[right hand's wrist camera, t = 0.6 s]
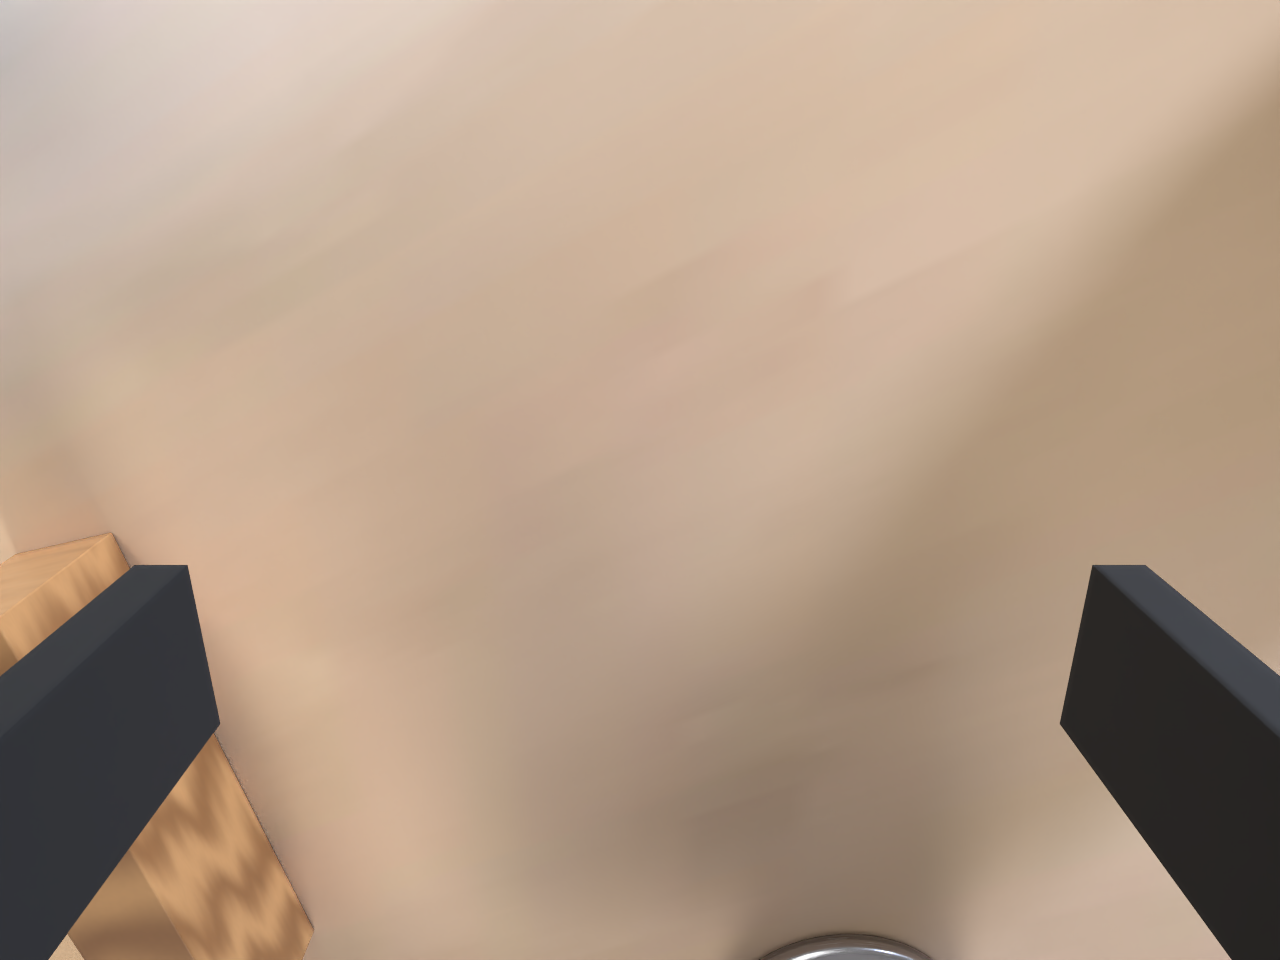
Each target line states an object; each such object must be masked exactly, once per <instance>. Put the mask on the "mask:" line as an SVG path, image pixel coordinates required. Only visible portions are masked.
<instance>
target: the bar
mask: <svg viewBox="0 0 1280 960" xmlns="http://www.w3.org/2000/svg"><path fill="white" fill-rule="evenodd" d="M129 569H130V568H129V566H128V564H127V562H126V560H125V558H124V556H123V554H122V552H121V550H120V548H119V546H118V544H117V542H116V540H115V538H114V536H113V534H112V533H107V534H103V535H98V536H94V537H89V538H85V539H81V540H76V541H72V542H67V543H63V544H59V545H54V546H50V547H46V548H41V549H37V550H32V551H28V552H24V553H19V554H16V555H14V556H13V557H11V558H10V559H8V560H7V561H5V562H4V563H2V564H1V565H0V676H1V675H2V674H4V673H5V672H6V671H7V670H8V669H10V668H11V667H12V666H13V665H14V664H16V663H17V662H18V661H19V660H20V659H22V658H23V657H24V656H25V655H27V654H28V653H29V652H30V651H31V650H33V649H34V648H35V647H36V646H37V645H39V644H40V643H41V642H42V641H43V640H45V639H46V638H47V637H48V636H49V635H51V634H52V633H53V632H54V631H56V630H57V629H58V628H59V627H60V626H62V625H63V624H64V623H65V622H66V621H68V620H69V619H70V618H71V617H72V616H74V615H75V614H76V613H77V612H79V611H80V610H81V609H82V608H83V607H85V606H86V605H87V604H88V603H89V602H91V601H92V600H93V599H94V598H95V597H97V596H98V595H99V594H100V593H102V592H103V591H104V590H105V589H106V588H108V587H109V586H110V585H111V584H112V583H114V582H115V581H116V580H117V579H118V578H120V577H121V576H122V575H123V574H125V573H126V572H127V571H128V570H129ZM313 932H314V929H313V927H312V925H311V923H310V921H309V920H308V918H307V916H306V914H305V912H304V910H303V908H302V906H301V904H300V902H299V900H298V898H297V896H296V894H295V892H294V890H293V888H292V886H291V884H290V882H289V880H288V878H287V876H286V874H285V872H284V870H283V868H282V866H281V865H280V863H279V861H278V859H277V857H276V855H275V853H274V851H273V849H272V847H271V845H270V843H269V841H268V839H267V837H266V835H265V833H264V831H263V829H262V827H261V825H260V823H259V821H258V819H257V817H256V815H255V813H254V811H253V809H252V808H251V806H250V804H249V802H248V800H247V798H246V796H245V794H244V792H243V790H242V788H241V786H240V784H239V782H238V780H237V778H236V776H235V774H234V772H233V770H232V768H231V766H230V764H229V762H228V760H227V758H226V756H225V754H224V752H223V751H222V749H221V747H220V745H219V743H218V741H217V739H216V737H215V735H214V733H213V734H212V736H211V737H210V738H209V740H208V741H207V743H206V744H205V745H204V747H203V748H202V749H201V751H200V752H199V753H198V755H197V756H196V758H195V759H194V760H193V762H192V763H191V764H190V766H189V767H188V769H187V770H186V771H185V773H184V774H183V775H182V777H181V778H180V780H179V781H178V782H177V784H176V785H175V786H174V788H173V789H172V791H171V792H170V793H169V795H168V796H167V797H166V799H165V800H164V802H163V803H162V804H161V806H160V807H159V808H158V810H157V811H156V813H155V814H154V815H153V817H152V818H151V819H150V821H149V822H148V823H147V825H146V826H145V828H144V829H143V830H142V832H141V833H140V834H139V836H138V837H137V839H136V840H135V841H134V843H133V844H132V845H131V847H130V848H129V850H128V851H127V852H126V854H125V855H124V856H123V858H122V859H121V861H120V862H119V863H118V865H117V866H116V867H115V869H114V870H113V872H112V873H111V874H110V876H109V877H108V878H107V880H106V881H105V883H104V884H103V885H102V887H101V888H100V889H99V891H98V892H97V893H96V895H95V896H94V898H93V899H92V900H91V902H90V903H89V904H88V906H87V907H86V909H85V910H84V911H83V913H82V914H81V915H80V917H79V918H78V920H77V921H76V922H75V924H74V925H73V926H72V928H71V929H70V931H69V932H68V933H67V934H68V935H69V937H70V938H71V940H72V941H73V943H74V944H75V946H76V947H77V949H78V951H79V952H80V954H81V955H82V957H83V958H84V960H302V959H303V956H304V954H305V951H306V949H307V946H308V944H309V942H310V939H311V937H312V934H313Z"/></svg>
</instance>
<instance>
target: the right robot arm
mask: <svg viewBox="0 0 1280 960" xmlns="http://www.w3.org/2000/svg"><path fill="white" fill-rule="evenodd" d="M219 725H220V721H219V716H218V711H217V706H216V701H215V696H214V691H213V687H212V682H211V677H210V672H209V667H208V662H207V658H206V653H205V648H204V643H203V638H202V633H201V628H200V624H199V619H198V614H197V609H196V604H195V599H194V594H193V590H192V585H191V580H190V575H189V570H188V565H134V566H133V567H132V568H131V569H129V570H128V571H127V572H126V573H125V574H123V575H122V576H121V577H120V578H118V579H117V580H116V581H115V582H114V583H112V584H111V585H110V586H109V587H108V588H106V589H105V590H104V591H103V592H102V593H100V594H99V595H98V596H97V597H95V598H94V599H93V600H92V601H91V602H89V603H88V604H87V605H86V606H85V607H83V608H82V609H81V610H80V611H79V612H77V613H76V614H75V615H74V616H72V617H71V618H70V619H69V620H68V621H66V622H65V623H64V624H63V625H62V626H60V627H59V628H58V629H57V630H56V631H54V632H53V633H52V634H51V635H49V636H48V637H47V638H46V639H45V640H43V641H42V642H41V643H40V644H39V645H37V646H36V647H35V648H34V649H33V650H31V651H30V652H29V653H28V654H27V655H25V656H24V657H23V658H22V659H20V660H19V661H18V662H17V663H16V664H14V665H13V666H12V667H11V668H10V669H8V670H7V671H6V672H5V673H4V674H2V675H1V676H0V960H48V959H49V958H50V957H51V955H52V954H53V953H54V951H55V950H56V948H57V947H58V946H59V944H60V943H61V942H62V940H63V939H64V937H65V936H66V935H67V933H68V932H69V931H70V929H71V928H72V926H73V925H74V924H75V922H76V921H77V920H78V918H79V917H80V915H81V914H82V913H83V911H84V910H85V909H86V907H87V906H88V904H89V903H90V902H91V900H92V899H93V898H94V896H95V895H96V893H97V892H98V891H99V889H100V888H101V887H102V885H103V884H104V883H105V881H106V880H107V878H108V877H109V876H110V874H111V873H112V872H113V870H114V869H115V867H116V866H117V865H118V863H119V862H120V861H121V859H122V858H123V856H124V855H125V854H126V852H127V851H128V850H129V848H130V847H131V845H132V844H133V843H134V841H135V840H136V839H137V837H138V836H139V834H140V833H141V832H142V830H143V829H144V828H145V826H146V825H147V823H148V822H149V821H150V819H151V818H152V817H153V815H154V814H155V813H156V811H157V810H158V808H159V807H160V806H161V804H162V803H163V802H164V800H165V799H166V797H167V796H168V795H169V793H170V792H171V791H172V789H173V788H174V786H175V785H176V784H177V782H178V781H179V780H180V778H181V777H182V775H183V774H184V773H185V771H186V770H187V769H188V767H189V766H190V764H191V763H192V762H193V760H194V759H195V758H196V756H197V755H198V753H199V752H200V751H201V749H202V748H203V747H204V745H205V744H206V743H207V741H208V740H209V738H210V737H211V736H212V734H213V733H214V732H215V730H216V729H217V727H218V726H219ZM1060 725H1061V726H1062V727H1063V729H1064V730H1065V732H1066V733H1067V734H1068V736H1069V737H1070V738H1071V740H1072V741H1073V743H1074V744H1075V745H1076V747H1077V748H1078V749H1079V751H1080V752H1081V754H1082V755H1083V756H1084V758H1085V759H1086V760H1087V762H1088V763H1089V764H1090V766H1091V767H1092V769H1093V770H1094V771H1095V773H1096V774H1097V775H1098V777H1099V778H1100V780H1101V781H1102V782H1103V784H1104V785H1105V786H1106V788H1107V789H1108V791H1109V792H1110V793H1111V795H1112V796H1113V797H1114V799H1115V800H1116V802H1117V803H1118V804H1119V806H1120V807H1121V808H1122V810H1123V811H1124V813H1125V814H1126V815H1127V817H1128V818H1129V819H1130V821H1131V822H1132V823H1133V825H1134V826H1135V828H1136V829H1137V830H1138V832H1139V833H1140V834H1141V836H1142V837H1143V839H1144V840H1145V841H1146V843H1147V844H1148V845H1149V847H1150V848H1151V850H1152V851H1153V852H1154V854H1155V855H1156V856H1157V858H1158V859H1159V861H1160V862H1161V863H1162V865H1163V866H1164V867H1165V869H1166V870H1167V872H1168V873H1169V874H1170V876H1171V877H1172V878H1173V880H1174V881H1175V883H1176V884H1177V885H1178V887H1179V888H1180V889H1181V891H1182V892H1183V893H1184V895H1185V896H1186V898H1187V899H1188V900H1189V902H1190V903H1191V904H1192V906H1193V907H1194V909H1195V910H1196V911H1197V913H1198V914H1199V915H1200V917H1201V918H1202V920H1203V921H1204V922H1205V924H1206V925H1207V926H1208V928H1209V929H1210V931H1211V932H1212V933H1213V935H1214V936H1215V937H1216V939H1217V940H1218V942H1219V943H1220V944H1221V946H1222V947H1223V948H1224V950H1225V951H1226V953H1227V954H1228V955H1229V957H1230V958H1231V959H1232V960H1280V676H1279V675H1278V674H1276V673H1275V672H1274V671H1273V670H1272V669H1270V668H1269V667H1268V666H1267V665H1266V664H1264V663H1263V662H1262V661H1261V660H1260V659H1258V658H1257V657H1256V656H1255V655H1254V654H1252V653H1251V652H1250V651H1249V650H1247V649H1246V648H1245V647H1244V646H1243V645H1241V644H1240V643H1239V642H1238V641H1237V640H1235V639H1234V638H1233V637H1232V636H1231V635H1229V634H1228V633H1227V632H1226V631H1224V630H1223V629H1222V628H1221V627H1220V626H1218V625H1217V624H1216V623H1215V622H1214V621H1212V620H1211V619H1210V618H1209V617H1208V616H1206V615H1205V614H1204V613H1203V612H1201V611H1200V610H1199V609H1198V608H1197V607H1195V606H1194V605H1193V604H1192V603H1191V602H1189V601H1188V600H1187V599H1186V598H1185V597H1183V596H1182V595H1181V594H1180V593H1178V592H1177V591H1176V590H1175V589H1174V588H1172V587H1171V586H1170V585H1169V584H1168V583H1166V582H1165V581H1164V580H1163V579H1162V578H1160V577H1159V576H1158V575H1157V574H1155V573H1154V572H1153V571H1152V570H1151V569H1149V568H1148V567H1147V566H1146V565H1092V570H1091V575H1090V580H1089V585H1088V590H1087V594H1086V599H1085V604H1084V609H1083V614H1082V619H1081V624H1080V628H1079V633H1078V638H1077V643H1076V648H1075V653H1074V658H1073V662H1072V667H1071V672H1070V677H1069V682H1068V687H1067V691H1066V696H1065V701H1064V706H1063V711H1062V716H1061V721H1060ZM760 960H932V959H931V958H930V957H928V956H927V955H925V954H923V953H922V952H920V951H918V950H916V949H914V948H912V947H910V946H908V945H905V944H903V943H900V942H897V941H893V940H890V939H886V938H881V937H876V936H868V935H855V934H843V935H829V936H822V937H816V938H811V939H807V940H803V941H800V942H796V943H793V944H790V945H788V946H785V947H783V948H780V949H778V950H776V951H774V952H772V953H770V954H768V955H766V956H765V957H763V958H761V959H760Z"/></svg>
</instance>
